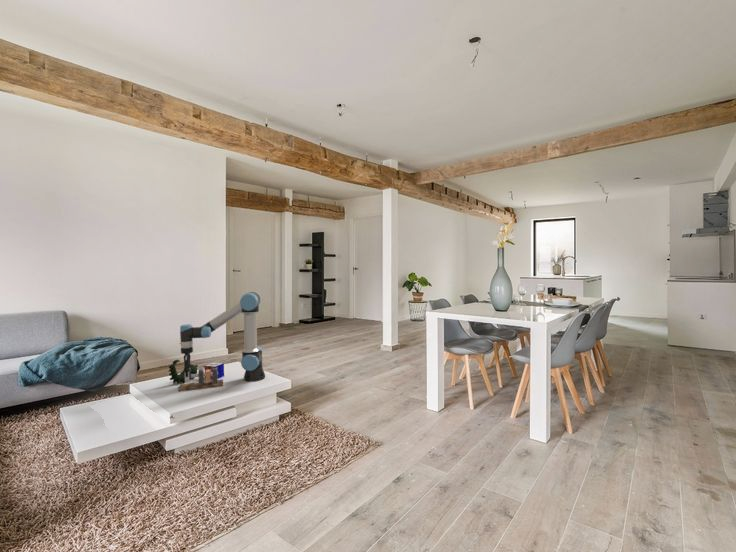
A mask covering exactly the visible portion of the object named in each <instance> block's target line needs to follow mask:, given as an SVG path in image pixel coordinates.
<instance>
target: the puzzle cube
mask: <svg viewBox="0 0 736 552" xmlns="http://www.w3.org/2000/svg"><path fill="white" fill-rule="evenodd" d="M224 364H225V363H221V362H211V363H209V364H206V365H204V368H203V369H204V373H206V370H211V372H212V370H213V368H217V371H218V375H217V376H218V380H220V379H221V378H224V377H225V365H224ZM204 380H206V376H204ZM210 381H213V376H211V380H210Z"/></svg>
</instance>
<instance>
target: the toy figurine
mask: <svg viewBox="0 0 736 552" xmlns="http://www.w3.org/2000/svg"><path fill="white" fill-rule="evenodd" d="M180 362H181V361H180V359H174V360H173V361H172V364H170V365H169V366H168V368H169V369H168V372H169V373H168V375H169V376H171V377H170V378H169V381H172V383H173V384H179V385H180V384H186V382H185V380H184V372H183V371H184V369H183V370H182V371H181V372H180V374H178V371H177V368H176V364H177V363H180ZM190 365H191V374H198V367H199V365H198V364H191V363H190ZM194 379H195V378H191V380H194Z"/></svg>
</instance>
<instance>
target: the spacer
mask: <svg viewBox="0 0 736 552" xmlns="http://www.w3.org/2000/svg"><path fill="white" fill-rule="evenodd" d="M210 372H211V370H206V379H205V381H212V380H211V376H210Z"/></svg>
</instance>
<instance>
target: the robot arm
mask: <svg viewBox="0 0 736 552" xmlns="http://www.w3.org/2000/svg"><path fill="white" fill-rule="evenodd" d="M260 303H261V297H260V294H258V293H257V292H255V291H249V292H246V293H245V294H243V295H242V296H241V298H240V300H239V302H237V303H236V304H234V305H233V306H231V307H229V308H228V309H227V310H225V311H223V312H222V313H220V314H219V315H218V316H216V317H214V318H212V319H211V320H209V321H208V322H206V323H205V324H203V325H201V326H196V327H195V326H193V325H192V324H190V323H186V324H182V325H180V326H179V330H180V331H179V334H180V335H179V336H180V342H179V345H180V354H182V355H183V365H184V368H183V370H184V371H183V370H182V372H185V383H187V382H190V380H189V369H190V368H191V365H190V364H191V354H193V352H194V348H193V346H194V343H193V339H206V338H210V337H211V336H212V333H213V332H215V331H216V330H218V329H219V328H220V327H222V326H224V325H225V324H227V323H228V322H230V321H231V320H233V319H234V318H236V317H238V316H239V315H240V314H242V315H243V335H244V337H243V340H244V343H243V345H244V348H243V349H242V350H241V352H242V353H241V360H240V364H241V367H242V369H243V370H245V372H244V375H243V380H244V381H246V382H258V381H262V380H264V379H265V378H266V373H265V371H264V368H263V349H262V347H259V346H258V326H257V325H258V323H257V322H258V320H257V315H258V313H260V311H259V310H260V309H259V308H260V307H259V306H260V305H259V304H260Z"/></svg>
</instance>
